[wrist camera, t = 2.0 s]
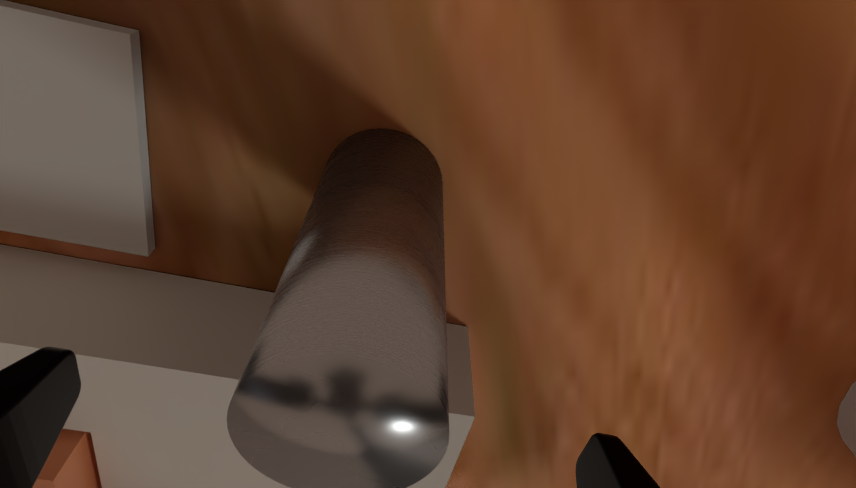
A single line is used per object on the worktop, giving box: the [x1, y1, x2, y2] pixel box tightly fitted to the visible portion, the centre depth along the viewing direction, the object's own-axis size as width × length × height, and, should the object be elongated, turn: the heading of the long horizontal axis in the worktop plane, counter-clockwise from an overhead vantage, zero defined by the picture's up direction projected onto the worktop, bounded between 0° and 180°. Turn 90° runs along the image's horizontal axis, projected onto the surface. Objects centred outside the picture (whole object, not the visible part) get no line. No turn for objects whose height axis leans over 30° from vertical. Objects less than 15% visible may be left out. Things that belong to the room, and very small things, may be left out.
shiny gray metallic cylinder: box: [227, 129, 449, 488], centre depth 12 cm, size 4×4×9 cm
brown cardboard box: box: [32, 429, 102, 488], centre depth 18 cm, size 4×4×4 cm
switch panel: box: [0, 244, 475, 488], centre depth 20 cm, size 20×12×4 cm, turn 77°
